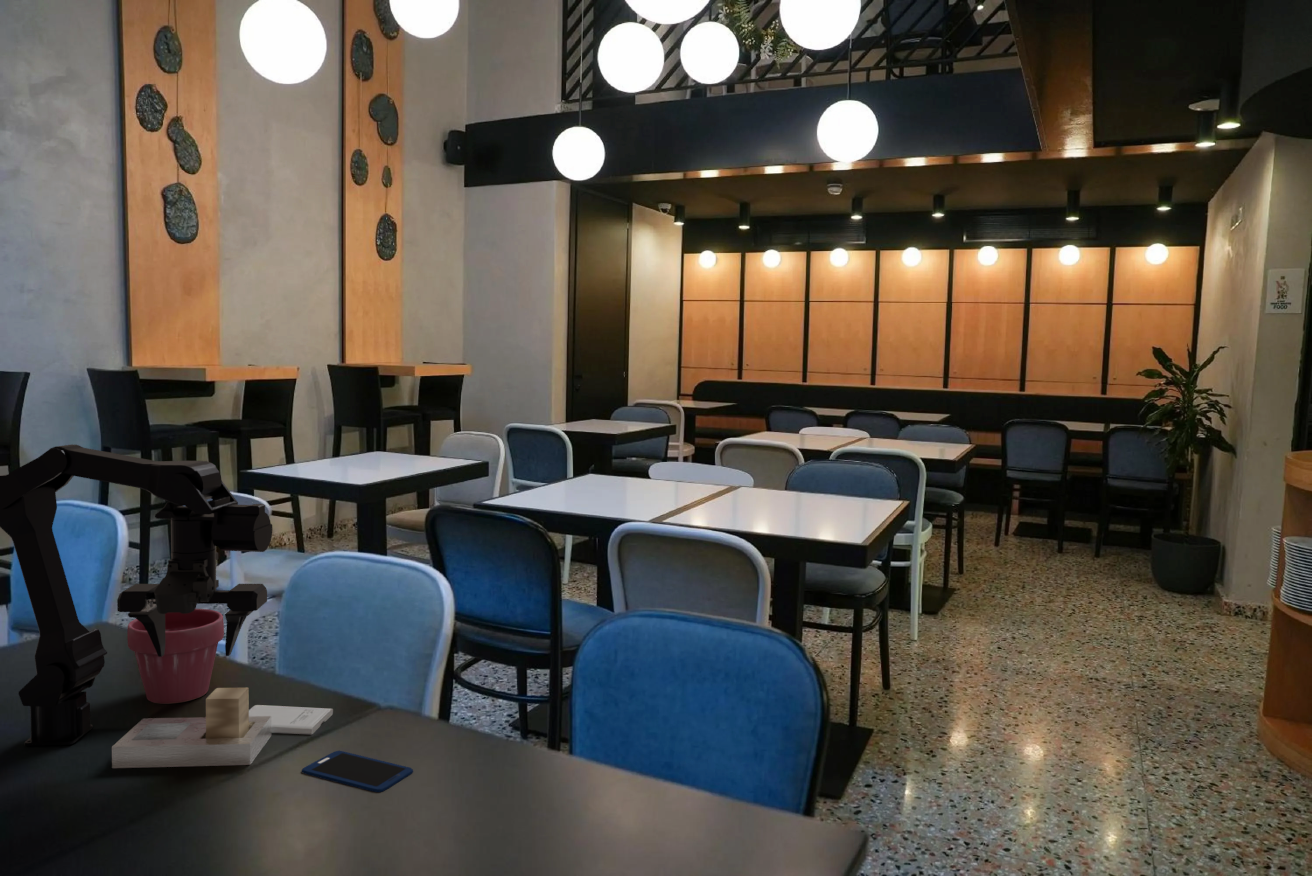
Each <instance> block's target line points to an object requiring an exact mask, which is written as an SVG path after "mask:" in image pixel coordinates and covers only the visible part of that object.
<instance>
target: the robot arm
mask: <svg viewBox="0 0 1312 876" xmlns="http://www.w3.org/2000/svg"><path fill="white" fill-rule="evenodd" d="M74 477H78V478H84V479H89V480H92V481H93V480H94V481H100V482H105V483H110V484H115V485H116V484H117V485H121V486H127V487H132V488H138V489H140V490H144V491H147V492H149V493H150V494H152V495H153V496H154V497H156V498H158V499H161V500H163V501H166V503H165V505H164V506H163V507H162V509H160V510H158V512H156V513H155V514H154V518H155V519H157V520H170V541H171V542H170V545H171V546H170V548H171V551H170V552H171V553H170V555H171V558H170V559H168V561H167V565H166V566H167V570H166V574H165V577H163V578H162V579H161V581H160V582H159V583H135V584H133V585H132V586H129V587H127V588H126V589H124V590H123V591H121V592H120V593H119V595H118V598H117V599H116V600H117V602H116V603H117V605H116V606H117V612H118V613H127V616H128V617H129V618H134V619H137V620H139V621H140V622H141V623H142V624H143V625H144V627H145V629H146V630H147V632H148V634H149V636H150V639H151V641H152V643H153V645H154V648H155V650H156V652H157V654H158V656H159V657H162V656H163V655H164V652H165V643H166V642H165V614H166V613H176V612H179V613H182V614H187V613H191V612H193V611H194V610H195V609H197V605H198V604H202V605H205V604H206V605H207V604H208V605H209V604H210V605H212V604H213V605H215V604H216V605H217V604H218V605H219V604H221V605H223V604H226V607H228V609H229V611H227V612H226V613H224V617H225V619H226V631H225V632H226V633H225V644H224V645H225V646H224V649H225V656H226V657H229V656H230V655H232V652H233V649H234V647H235V646H236V645H235V644H236V641H237V639H238V636H239V634H240V631H241V629H242V626H243V625H244V622H245V620H246V619H247V617H248V616H250V615H251V614H252V613H253V612H256V611H258V610H259V609H260V608H261V607H263V605H265V604H266V603H267V602H268V590H267V587H266V586H265V585H264V583H238V584H236V585H235V586H234V587H232V588H231V589H230V590H227V589H226V590H223V589H222V590H217V588H219V585H220V581H219V579H217V561H218V560H219V552H217V549H216V547H218V549H219V550H221V551H224V552H225V551H226V552H248V553H249V552H255V553H264V552H266V550H268V548H269V546H270V544H271V542H272V536H273V524H272V523H271V519H270V516H269V514H268V513H267V512H266V505H265V504H264V503H254V504H239V502H238V500H237V499H236V498H235V496H234V495H233V494H232V492H231V491H230V490H229V488H228V487H227V486H226V485H225V483H224V481H223V480H222V475H221V472H220V471H219V470H218V467H217V465H215V464H214V463H212V462H209V461H208V460H167V461H165V460H163V461H161V460H160V461H159V460H158V461H157V460H153V459H148V458H147V459H146V458H142V457H137V456H131V455H125V454H120V453H115V452H109V451H102V450H99V449H93V448H88V447H83V446H81V445H79V444H73V443H72V444H65V445H58V446H53V447H50V448H49V449H48V450H46V451H45V452H44V453H42V454H40V455H39V456H38V457H37V458H35V459H33V460H31V461H29V462H27V463H25V464H23V465H21V466H19V467H17V468H16V469H14V470H12V471H11V472H9V473H8V474H2V475H0V529H1V530H2V531H3V532H5V533H6V535H8V536H9V537H10V538H11V540H12V544H13V546H14V550H15V553H16V557H17V560H18V564H19V567H20V570H21V574H22V577H23V580H24V584H25V587H26V590H27V594H28V598H29V601H30V604H31V608H32V612H33V615H34V618H35V622H36V625H37V628H38V632H39V637H38V641H37V646H36V649H35V654H34V664H35V672H36V674H35V675H34V677H33V678H32V679H30V681H28V682H27V683H26V684H25V685H24V686H23V687H22V688H21V689H20V690H19V691H18V696H19V699H20V702H21V704H22V706H24V707H29V709H30V710H29V711H30V712H29V713H30V738H27V740H25V741H24V746H26V747H28V746H32V747H33V746H68V745H73V744H75V743H76V742H77V741H79V740H80V739H81V738H82V737H83V736H85V735H86V734H87V733H88V732H90V731H91V730H92V729H93V728H94V726H93V724H92V723H91V722H92V721H91V703H90V702H89V701H87V691H85V690H86V689H88V688H91V687H92V686H93V685H94V682H95V679H96V677H97V676H98V675H99V674H100V673H101V672H102V670H103V668H104V666H105V655H107V654H108V651H107V650H106V649H105V647H104V645H103V641H102V634H101V631H100V630H99V629H98V628H95V629H93V630H91V631H90V630H88V629H87V628H86V627H85V626H84V625H83V624H82V623H81V622H80V620H79V618H78V617H79V616H78V615H77V611H76V606H75V603H74V600H73V597H72V593H71V590H70V586H69V582H68V580H67V576H66V573H65V569H64V565H63V563H62V559H61V556H60V551H59V549H58V545H57V541H56V538H55V535H54V530H53V525H54V522H55V517H56V513H57V509H58V505H57V504H58V503H57V496H56V493H57V492H58V491H60V490H61V489H62V488H64V487H65V486H66V485H68V484H69V483H70V481H71V480H72V479H73V478H74Z"/></svg>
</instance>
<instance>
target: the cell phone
mask: <svg viewBox="0 0 1312 876" xmlns="http://www.w3.org/2000/svg"><path fill="white" fill-rule="evenodd" d="M301 773H302V774H304V775H308V776H312V777H316V778H319V779H324V780H327V781H331V782H334V783H338V784H343V785H346V786H350V787H355V788H358V789H362V790H366V791H368V792H369V791H370V792H374V793H383V792H385V791H387V790H388V789H390V788H392V787H393V786H394V785H397V784H398V783H399V782H401V781H403V780H405V779H406V778H407V777H409V776H411V775H412V774H413V773H414V769H412V767H409V766H406V765H405V766H404V765H401V764H397V763H392V762H388V761H385V760H380V759H377V758H372V757H368V756H364V755H360V754H356V753H352V752H347V751H344V750H335V751H333V752H331V753H329V754H327V755H325V756H323V757H321V758H320V759H317V760H316V761H314V762H312V763H310V764H308V765H306V766H305V767H303V768H302V769H301Z"/></svg>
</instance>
